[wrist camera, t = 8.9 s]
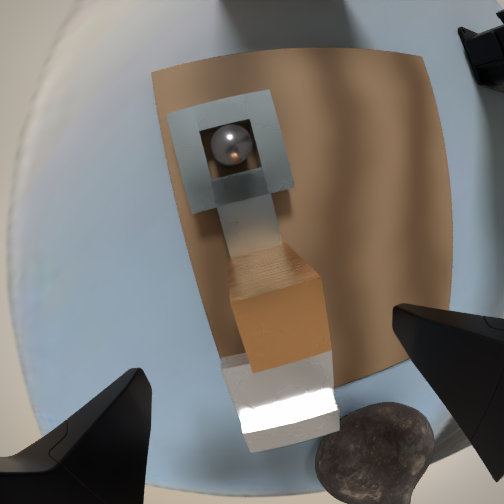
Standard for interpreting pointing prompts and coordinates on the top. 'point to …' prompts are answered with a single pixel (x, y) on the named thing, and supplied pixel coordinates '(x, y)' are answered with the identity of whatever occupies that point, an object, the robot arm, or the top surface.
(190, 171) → the link
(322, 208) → the base board
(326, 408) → the block
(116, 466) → the robot arm
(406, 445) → the dark brown tapered bulb
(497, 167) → the top surface
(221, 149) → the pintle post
